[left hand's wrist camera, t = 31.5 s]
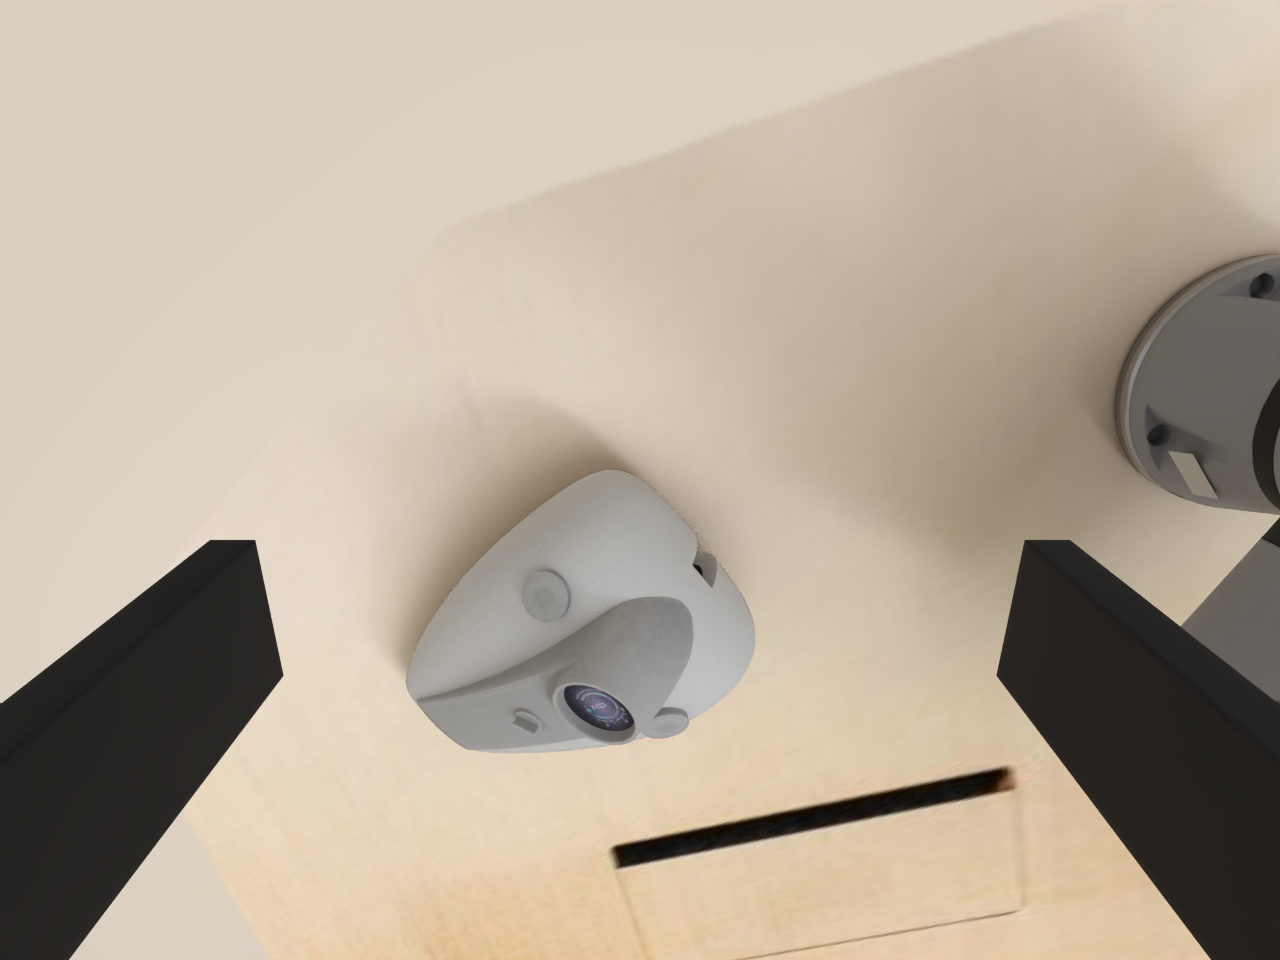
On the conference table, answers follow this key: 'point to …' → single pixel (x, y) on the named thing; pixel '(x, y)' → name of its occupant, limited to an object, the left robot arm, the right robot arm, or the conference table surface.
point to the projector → (584, 628)
